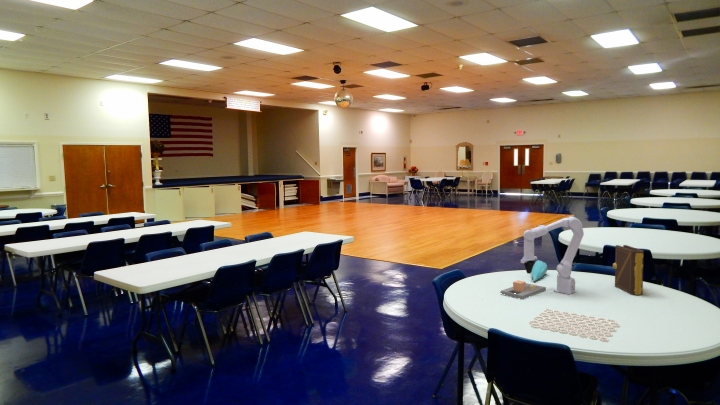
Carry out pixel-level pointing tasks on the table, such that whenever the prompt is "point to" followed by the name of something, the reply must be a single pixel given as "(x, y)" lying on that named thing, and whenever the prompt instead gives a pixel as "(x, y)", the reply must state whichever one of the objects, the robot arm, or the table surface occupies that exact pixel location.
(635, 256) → the book
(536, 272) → the crystal
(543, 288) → the plate
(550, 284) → the table surface
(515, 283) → the block
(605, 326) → the honeycomb grid
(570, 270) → the robot arm
